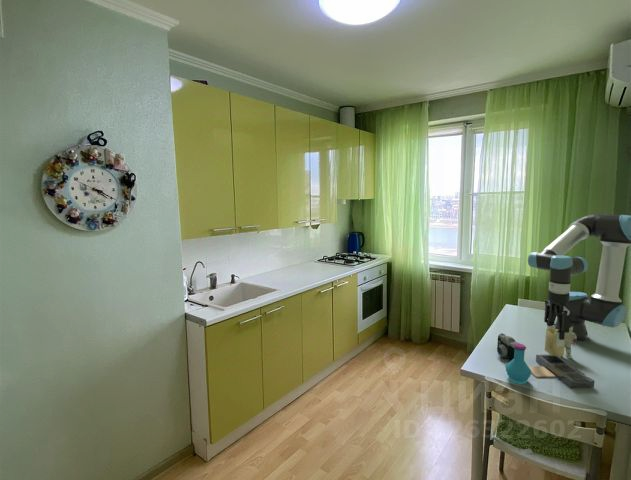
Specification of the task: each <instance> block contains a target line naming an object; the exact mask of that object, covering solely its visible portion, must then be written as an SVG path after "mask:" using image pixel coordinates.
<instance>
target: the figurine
mask: <svg viewBox="0 0 631 480" xmlns="http://www.w3.org/2000/svg"><path fill="white" fill-rule="evenodd" d="M572 331H573V327H571V328H569V333H565V334H566V335H565V347H564V350H565V352H564V356H565V357H566V358H568V359H572V355H571V354H572V346H573V347H576V346H577V344H576V343H577V342H578V341H577V340H576V339H577V337H576V334H575V333H573V332H572ZM559 357H561V358H562V356H559Z"/></svg>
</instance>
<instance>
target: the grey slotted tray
mask: <svg viewBox="0 0 631 480" xmlns="http://www.w3.org/2000/svg"><path fill="white" fill-rule="evenodd" d="M535 362H537V363H538V364H539V366H544V367H545V368H546V369H547V370H549V371H550V372H551V373H552V374H554V375H555V376H556V377H555V378H557V379H558V380H559V381H561V382H562V383H563V384H565V386H567V387H568V388H570V389H594V388H595V380H594V379H592V378H591V377H590V376H588V375H586V374H585V373H584V372H582V371H581V370H579V369H578V368H576V367H575V366H574V365H572V364H571V363H570V362H569V361H567V360H565V359H563V358H562V356H561V357H559V356H552V355H550V354H536V355H535Z"/></svg>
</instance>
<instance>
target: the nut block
mask: <svg viewBox="0 0 631 480" xmlns="http://www.w3.org/2000/svg"><path fill="white" fill-rule="evenodd" d="M557 331H558V329H547V328H546V330H545V342H544V351H545V352H546V353H547V354H548V355H552V356H561V357H562V356H563V357H564V356H565V336H564V342H563V346H556V335H557ZM565 335H566V334H565Z"/></svg>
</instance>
